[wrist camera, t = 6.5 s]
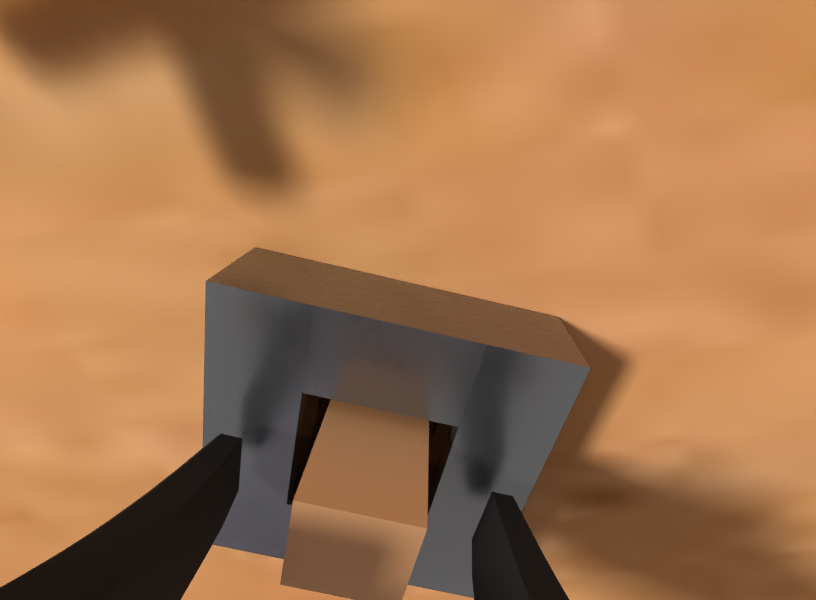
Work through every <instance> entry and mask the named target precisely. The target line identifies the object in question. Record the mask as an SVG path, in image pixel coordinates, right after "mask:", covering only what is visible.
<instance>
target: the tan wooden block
mask: <svg viewBox="0 0 816 600" xmlns="http://www.w3.org/2000/svg"><path fill="white" fill-rule="evenodd" d="M428 458H429V421H428V420H424V419H419V418H415V417H410V416H406V415H401V414H396V413H392V412H387V411H383V410H378V409H374V408H369V407H364V406H360V405H355V404H351V403H346V402H342V401H337V400H332V399H331V400H330V403H329V406H328V408H327V411H326V414H325V416H324V419H323V422H322V424H321V427H320V430H319V432H318V435H317V438H316V440H315V443H314V446H313V448H312V451H311V454H310V456H309V459H308V462H307V464H306V467H305V470H304V472H303V475H302V478H301V481H300V483H299V486H298V489H297V491H296V494H295V497H294V499H293V504H292V511H291V517H290V524H289V530H288V537H287V544H286V550H285V557H284V563H283V570H282V576H281V583H280V584H281V585H285V586H290V587H295V588H300V589H305V590H310V591H315V592H320V593H325V594H330V595H335V596H340V597H345V598H350V599H355V600H402V598H403V595H404V592H405V590H406V587H407V584H408V581H409V578H410V576H411V573H412V570H413V567H414V564H415V562H416V559H417V556H418V553H419V550H420V548H421V545H422V542H423V539H424V537H425V534H426V531H427V518H428Z"/></svg>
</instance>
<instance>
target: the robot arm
mask: <svg viewBox="0 0 816 600" xmlns="http://www.w3.org/2000/svg"><path fill="white" fill-rule="evenodd" d="M241 452H242V438H239V437H234V436H230V435H225V434H219V435H218V436H216V437H215V438H214V439H213V440H211V441H210V442H209V443H208V444H207V445H206V446H205V447H203V448H202V449H201V450H200V451H199V452H197V453H196V454H195V455H194V456H193V457H192V458H190V459H189V460H188V461H187V462H186V463H184V464H183V465H182V466H181V467H179V468H178V469H177V470H176V471H175V472H173V473H172V474H171V475H169V476H168V477H167V478H166V479H164V480H163V481H162V482H160V483H159V484H158V485H157V486H155V487H154V488H153V489H152V490H150V491H149V492H148V493H146V494H145V495H144V496H142V497H141V498H140V499H138V500H137V501H135V502H134V503H133V504H131V505H130V506H128V507H127V508H126V509H124V510H123V511H122V512H120V513H119V514H117V515H116V516H115V517H113V518H112V519H110V520H109V521H108V522H106V523H105V524H103V525H102V526H100V527H99V528H97V529H96V530H94V531H93V532H91V533H90V534H88V535H87V536H85V537H84V538H82V539H81V540H79V541H77V542H76V543H74V544H73V545H71V546H70V547H68V548H66V549H65V550H63V551H62V552H60V553H58V554H57V555H55V556H53V557H52V558H50V559H48V560H47V561H45V562H43V563H42V564H40V565H38V566H37V567H35V568H33V569H32V570H30V571H28V572H26V573H25V574H23V575H21V576H20V577H18V578H16V579H14V580H13V581H11V582H9V583H7V584H6V585H4V586H2V587H0V600H181V598H182V596H183V594H184V593H185V591H186V589H187V588H188V586H189V584H190V582H191V581H192V579H193V577H194V575H195V574H196V572H197V570H198V569H199V567H200V565H201V563H202V562H203V560H204V558H205V556H206V555H207V553H208V551H209V549H210V548H211V546H212V544H213V543H214V541H215V539H216V537H217V535H218V534H219V532H220V530H221V528H222V526H223V524H224V522H225V520H226V518H227V516H228V513H229V511H230V509H231V507H232V504H233V502H234V500H235V498H236V495H237V493H238V491H239V480H240V466H241ZM472 582H473V592H474V600H569V598H568V597H567V595H566V593H565V592H564V590H563V588H562V587H561V585H560V583H559V581H558V580H557V578H556V576H555V574H554V572H553V571H552V569H551V567H550V565H549V564H548V562H547V560H546V558H545V556H544V555H543V553H542V551H541V549H540V547H539V545H538V543H537V541H536V540H535V538H534V536H533V534H532V532H531V530H530V528H529V526H528V524H527V522H526V520H525V518H524V516H523V514H522V512H521V510H520V508H519V506H518V504H517V503H516V501H515V499H514V497H513V496H510V495H505V494H501V493H496V492H492V493H491V495H490V498H489V500H488V502H487V505H486V507H485V509H484V512H483V514H482V516H481V519H480V521H479V523H478V526H477V528H476V530H475V533H474V535H473V537H472Z"/></svg>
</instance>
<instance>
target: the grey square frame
mask: <svg viewBox="0 0 816 600" xmlns="http://www.w3.org/2000/svg"><path fill="white" fill-rule="evenodd" d="M590 369H591V367H590V366H589V364H588V363H587V361H586V360H585V358H584V356H583V355H582V353H581V352H580V350H579V349H578V347H577V345H576V344H575V342H574V341H573V339H572V338H571V336H570V335H569V333H568V331H567V330H566V328H565V327H564V325H563V324H562V322H561V320H560V319H559V317H556V316H551V315H547V314H543V313H538V312H534V311H529V310H525V309H521V308H516V307H512V306H508V305H503V304H499V303H495V302H490V301H486V300H482V299H477V298H473V297H468V296H464V295H460V294H455V293H451V292H447V291H442V290H438V289H434V288H429V287H425V286H421V285H416V284H412V283H407V282H403V281H399V280H394V279H390V278H386V277H381V276H377V275H373V274H368V273H364V272H360V271H355V270H351V269H346V268H342V267H338V266H333V265H329V264H325V263H320V262H316V261H312V260H307V259H303V258H299V257H294V256H290V255H286V254H281V253H277V252H272V251H268V250H264V249H259V248H253V249H252V250H250V251H249V252H247V253H246V254H244V255H243V256H242V257H240V258H239V259H237V260H236V261H234V262H233V263H231V264H230V265H228V266H227V267H226V268H224V269H223V270H221V271H220V272H218V273H217V274H215V275H214V276H212V277H211V278H210V279H208V280H207V281H206V301H205V356H204V411H203V447H205V446H206V445H207V444H208V443H209V442H210V441H211V440H213V439H214V438H215V437H216V436H218V435H219V434H225V435H230V436H234V437H239V438H242V452H241V466H240V480H239V491H238V493H237V495H236V498H235V500H234V502H233V504H232V507H231V509H230V511H229V513H228V516H227V518H226V520H225V522H224V524H223V526H222V528H221V530H220V532H219V534H218V535H217V537H216V539H215V541H214V543H213V545H218V546H223V547H227V548H232V549H237V550H242V551H247V552H252V553H257V554H262V555H266V556H271V557H276V558H281V559H284V557H285V550H286V544H287V537H288V530H289V524H290V517H291V511H292V504H293V499H294V497H295V494H296V491H297V489H298V486H299V483H300V481H301V478H302V475H303V472H304V470H305V467H306V464H307V462H308V459H309V456H310V454H311V451H312V448H313V446H314V443H315V440H316V439H314V438H312V436H313V430H314V423H315V417H316V411H317V405H318V399H319V397H323V398H328V399H332V400H337V401H342V402H346V403H351V404H355V405H360V406H364V407H369V408H374V409H378V410H383V411H387V412H392V413H396V414H401V415H406V416H410V417H415V418H419V419H424V420H428V421H433V422H437V424H436V427H435V430H434V433H433V436H432V439H431V442H430V446H429V458H428V518H427V531H426V534H425V537H424V539H423V542H422V545H421V548H420V550H419V553H418V556H417V559H416V562H415V564H414V567H413V570H412V573H411V576H410V578H409V581H408V585H413V586H418V587H423V588H427V589H432V590H437V591H442V592H447V593H452V594H457V595H462V596H466V597H471V598H474V592H473V582H472V537H473V535H474V533H475V530H476V528H477V526H478V523H479V521H480V519H481V516H482V514H483V512H484V509H485V507H486V505H487V502H488V500H489V498H490V495H491V493H492V492H496V493H501V494H505V495H510V496H513V497H514V499H515V501H516V503H517V504H518V506H519V508H520V510H521V512H522V510H523V508H524V506H525V504H526V502H527V499H528V497H529V495H530V493H531V491H532V489H533V487H534V485H535V483H536V481H537V479H538V477H539V475H540V473H541V470H542V468H543V466H544V464H545V462H546V460H547V458H548V456H549V454H550V452H551V450H552V448H553V446H554V444H555V441H556V439H557V437H558V435H559V433H560V431H561V429H562V427H563V425H564V423H565V421H566V419H567V417H568V415H569V412H570V410H571V408H572V406H573V404H574V402H575V400H576V398H577V396H578V394H579V392H580V390H581V388H582V386H583V383H584V381H585V379H586V377H587V375H588V373H589V371H590Z"/></svg>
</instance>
